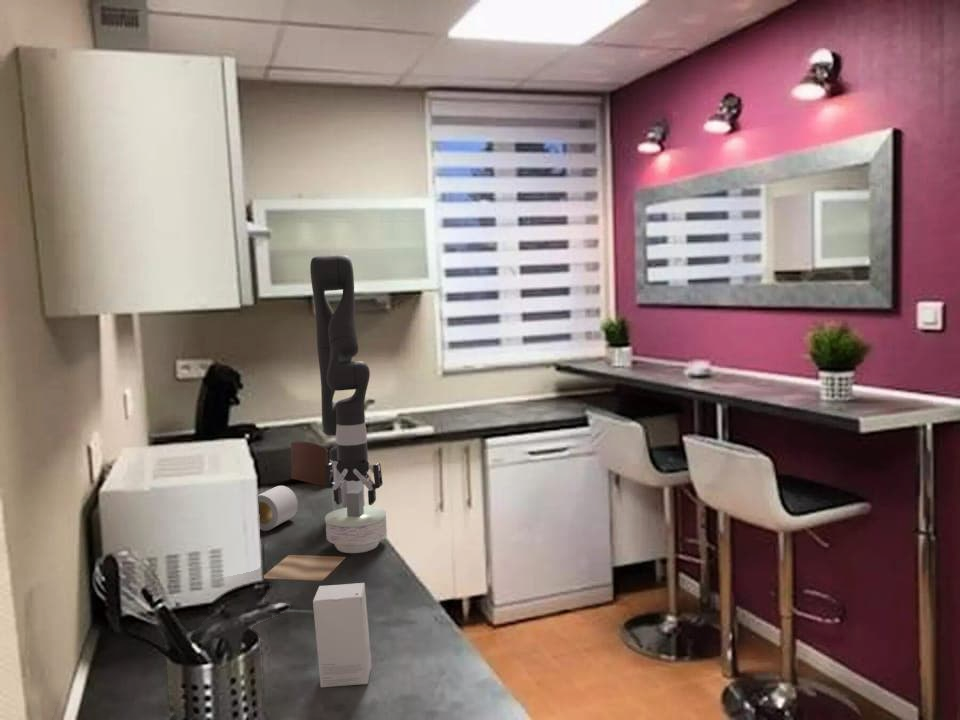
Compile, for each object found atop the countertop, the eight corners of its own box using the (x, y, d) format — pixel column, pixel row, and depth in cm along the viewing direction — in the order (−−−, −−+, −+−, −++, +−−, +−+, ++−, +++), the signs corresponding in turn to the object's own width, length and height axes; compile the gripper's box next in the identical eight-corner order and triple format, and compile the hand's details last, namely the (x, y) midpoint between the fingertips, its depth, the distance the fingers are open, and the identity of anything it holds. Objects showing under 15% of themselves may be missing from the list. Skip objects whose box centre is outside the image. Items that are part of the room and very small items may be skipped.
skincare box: (372, 667, 138) (367, 581, 136) (368, 686, 131) (363, 597, 130) (324, 669, 138) (319, 583, 136) (317, 689, 131) (312, 599, 129)
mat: (288, 556, 195) (288, 554, 195) (346, 558, 192) (346, 556, 192) (260, 580, 180) (260, 577, 180) (322, 582, 177) (322, 580, 177)
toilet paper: (279, 532, 215) (276, 496, 214) (248, 529, 218) (245, 494, 217) (299, 520, 225) (296, 486, 223) (268, 518, 228) (266, 484, 227)
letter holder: (327, 487, 260) (325, 445, 258) (291, 479, 273) (288, 439, 271) (351, 481, 267) (348, 440, 266) (314, 473, 280) (312, 434, 279)
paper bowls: (393, 538, 207) (391, 508, 206) (380, 558, 192) (378, 527, 191) (336, 538, 208) (334, 508, 207) (319, 558, 193) (317, 527, 192)
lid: (338, 508, 208) (336, 483, 207) (393, 509, 205) (392, 484, 204) (315, 526, 193) (314, 499, 192) (375, 528, 190) (373, 500, 190)
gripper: (383, 437, 199) (386, 500, 201) (330, 437, 202) (334, 499, 204) (374, 444, 192) (377, 509, 194) (319, 443, 195) (322, 507, 196)
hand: (355, 503), depth 199 cm, fingers open, 8 cm apart
